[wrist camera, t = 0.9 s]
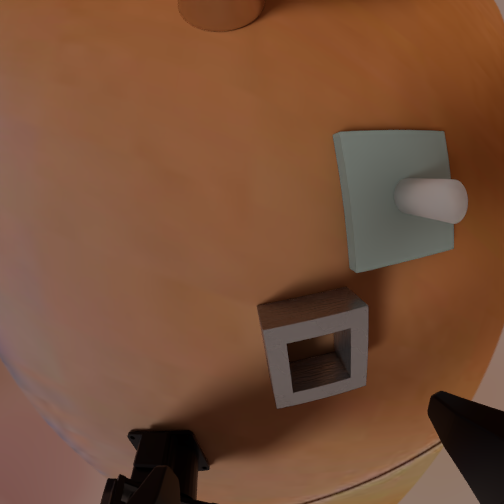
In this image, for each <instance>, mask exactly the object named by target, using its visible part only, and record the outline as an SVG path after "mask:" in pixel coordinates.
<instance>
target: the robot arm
mask: <svg viewBox="0 0 504 504" xmlns="http://www.w3.org/2000/svg"><path fill="white" fill-rule="evenodd" d="M428 416H429V418H430V420H431V422H432V424H433V426H434V428H435V430H436V432H437V434H438V436H439V438H440V440H441V442H442V444H443V446H444V447H445V449H446V450H447V452H448V453H449V455H450V457H451V458H452V460H453V461H454V463H455V464H456V466H457V467H458V469H459V470H460V472H461V474H462V475H463V477H464V478H465V480H466V481H467V483H468V485H469V486H470V488H471V489H472V491H473V493H474V494H475V496H476V498H477V499H478V501H479V502H480V504H504V411H501V410H498V409H495V408H491V407H488V406H485V405H482V404H479V403H476V402H473V401H470V400H467V399H464V398H461V397H458V396H455V395H453V394H450V393H447V392H444V391H439V392H437V393H435V394H433V395H432V396H431V398H430V402H429V406H428ZM128 438H129V440H130V441H131V443H132V444H133V446H134V447H135V449H136V450H137V452H136V456H135V460H134V463H133V465H134V467H133V471H132V475H131V479H128V478H126V476H123V475H121V474H119V476H118V478H117V479H110V478H108V479H107V482H106V485H105V489H104V492H103V496H102V499H101V503H100V504H217V503H208V502H203V501H199V500H196V499H197V480H198V471H205V470H209V469H210V465H209V463H208V461H207V459H206V457H205V456H204V454H203V452H202V450H201V448H200V446H199V444H198V442H197V440H196V438H195V436H194V434H193V432H191V431H189V430H183V431H157V432H133V431H131V432H129V433H128Z"/></svg>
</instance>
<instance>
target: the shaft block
mask: <svg viewBox="0 0 504 504" xmlns="http://www.w3.org/2000/svg"><path fill="white" fill-rule="evenodd" d="M333 140H334V145H335V151H336V157H337V163H338V169H339V176H340V183H341V190H342V197H343V205H344V214H345V223H346V232H347V242H348V254H349V267H350V269H351V270H353V271H354V272H356V273H360V272H364V271H368V270H373V269H377V268H381V267H385V266H389V265H393V264H397V263H401V262H405V261H409V260H413V259H417V258H421V257H425V256H429V255H432V254H436V253H440V252H444V251H447V250H451V249H454V224H456V223H458V222H460V221H461V220H462V219H463V218H464V216H465V214H466V211H467V207H468V196H467V192H466V189H465V187H464V186H463V184H462V183H461V182H460V181H458V180H455V179H451V176H450V167H449V159H448V152H447V146H446V140H445V134H444V131H426V130H371V131H348V132H338V133H336V134H334V135H333Z"/></svg>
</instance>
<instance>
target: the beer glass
mask: <svg viewBox="0 0 504 504" xmlns="http://www.w3.org/2000/svg"><path fill="white" fill-rule="evenodd" d="M264 5H265V0H178V10H179V13H180V15H181V16H182V18H183V19H184V20H185V21H186V22H187V23H189V24H190V25H192V26H194V27H196V28H199V29H202V30H207V31H229V30H234V29H238V28H241V27H243V26H246V25H248V24H250V23H251V22H253V21H254V20H255V19H256V18H257V17H258V16H259V15H260V14H261V12H262V11H263V8H264Z"/></svg>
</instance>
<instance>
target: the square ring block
mask: <svg viewBox="0 0 504 504" xmlns="http://www.w3.org/2000/svg"><path fill="white" fill-rule="evenodd" d="M257 309H258V315H259V320H260V326H261V331H262V337H263V342H264V348H265V353H266V359H267V364H268V370H269V375H270V380H271V385H272V389H273V393H274V398H275V402H276V407H277V409H279V408H284V407H288V406H293V405H297V404H302V403H306V402H310V401H314V400H318V399H322V398H326V397H329V396H333V395H336V394H340V393H343V392H347V391H350V390H353V389H356V388H359V387H363V386H366V377H367V358H368V305H367V304H366V303H365V302H364V301H362V300H361V299H360V298H359V297H358V296H357V295H356V294H355V293H353V292H352V291H351V290H350V289H349V288H348V287H343V288H339V289H334V290H330V291H325V292H321V293H316V294H312V295H307V296H302V297H298V298H293V299H288V300H283V301H278V302H273V303H268V304H263V305H258V306H257ZM330 333H334V350H335V352H332V353H328V354H324V355H320V356H316V357H312V358H308V359H303V360H299V361H295V362H290V363H289V359H288V352H287V345H286V344H287V343H292V342H296V341H301V340H305V339H310V338H314V337H318V336H322V335H326V334H330Z"/></svg>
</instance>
